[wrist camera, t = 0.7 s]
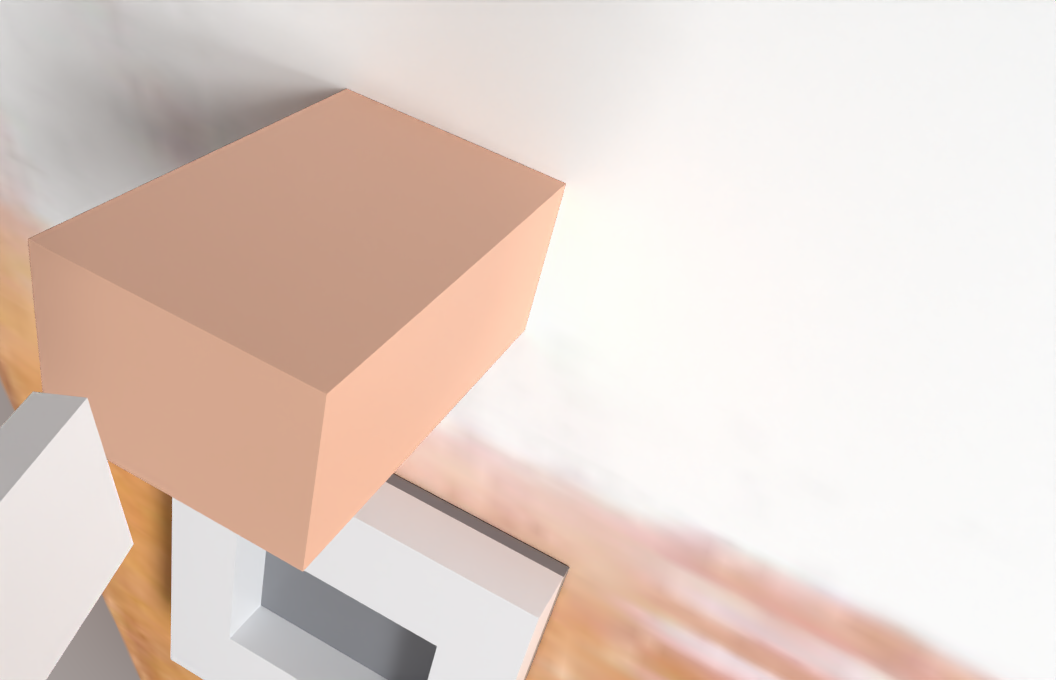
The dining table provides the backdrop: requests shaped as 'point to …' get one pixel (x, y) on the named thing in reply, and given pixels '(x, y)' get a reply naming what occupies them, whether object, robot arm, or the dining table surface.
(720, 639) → the dining table surface
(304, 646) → the pocket plate
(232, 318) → the peach block
